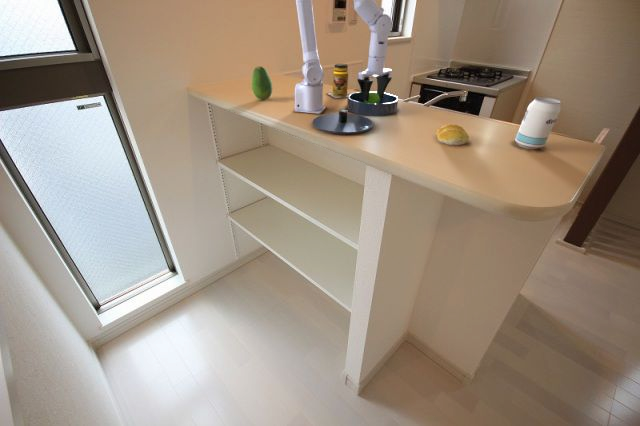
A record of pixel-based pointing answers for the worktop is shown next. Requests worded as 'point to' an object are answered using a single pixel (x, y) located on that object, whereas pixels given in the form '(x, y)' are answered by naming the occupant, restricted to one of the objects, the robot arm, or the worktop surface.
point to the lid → (342, 123)
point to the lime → (373, 98)
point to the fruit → (261, 83)
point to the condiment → (340, 81)
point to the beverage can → (538, 123)
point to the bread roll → (452, 135)
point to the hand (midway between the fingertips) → (372, 98)
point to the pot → (372, 105)
